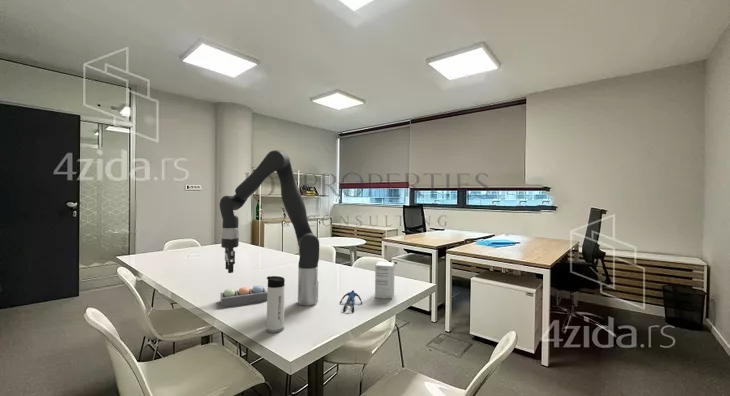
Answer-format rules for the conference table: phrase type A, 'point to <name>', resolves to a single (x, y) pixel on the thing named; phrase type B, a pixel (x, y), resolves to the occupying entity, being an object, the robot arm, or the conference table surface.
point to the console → (243, 298)
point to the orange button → (243, 291)
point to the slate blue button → (257, 289)
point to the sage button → (229, 292)
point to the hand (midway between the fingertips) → (229, 270)
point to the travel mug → (275, 304)
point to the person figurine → (350, 298)
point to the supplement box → (384, 279)
